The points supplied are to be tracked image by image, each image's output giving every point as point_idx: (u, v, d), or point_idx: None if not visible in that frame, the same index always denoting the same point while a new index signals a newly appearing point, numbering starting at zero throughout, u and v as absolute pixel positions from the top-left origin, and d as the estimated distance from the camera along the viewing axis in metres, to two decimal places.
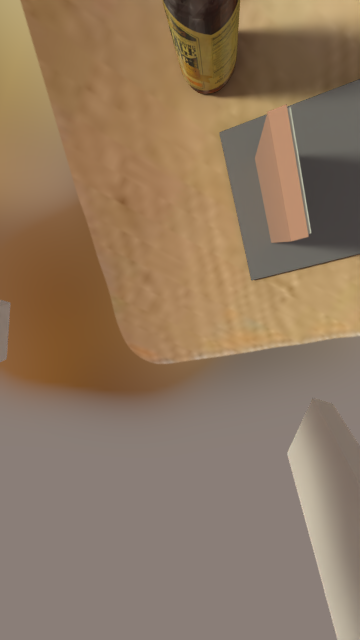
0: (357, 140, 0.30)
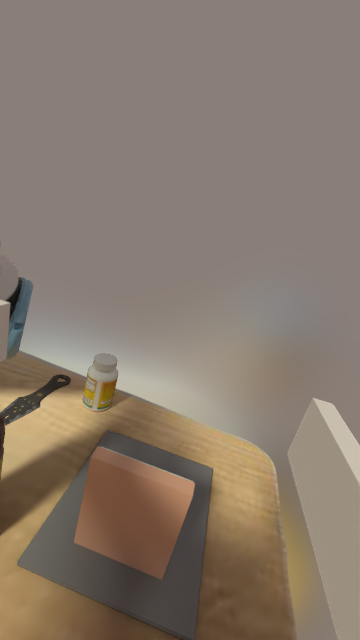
0: None
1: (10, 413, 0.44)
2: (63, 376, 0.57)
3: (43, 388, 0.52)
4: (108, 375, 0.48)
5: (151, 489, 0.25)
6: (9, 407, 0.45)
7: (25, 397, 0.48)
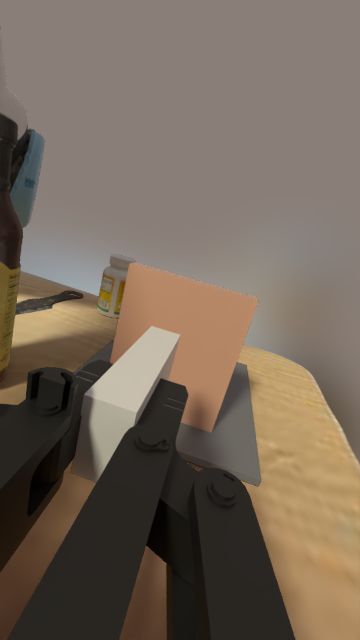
0: None
1: (20, 307, 0.39)
2: (75, 292, 0.52)
3: (54, 296, 0.47)
4: (126, 274, 0.43)
5: (205, 300, 0.21)
6: (18, 303, 0.40)
7: (36, 299, 0.43)
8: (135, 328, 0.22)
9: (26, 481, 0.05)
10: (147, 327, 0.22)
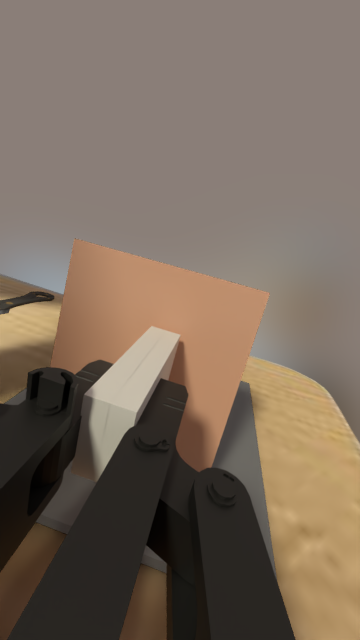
0: None
1: None
2: (44, 293, 0.43)
3: (15, 299, 0.38)
4: None
5: (188, 293, 0.13)
6: None
7: None
8: (83, 338, 0.15)
9: (26, 481, 0.05)
10: (101, 336, 0.15)
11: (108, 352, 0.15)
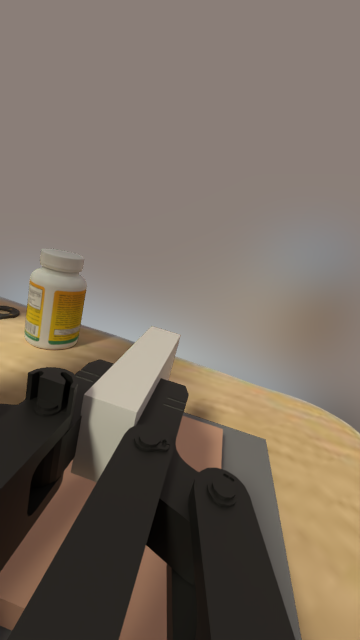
0: None
1: None
2: (8, 308, 0.35)
3: None
4: (66, 280, 0.27)
5: None
6: None
7: None
8: None
9: (26, 481, 0.05)
10: None
11: None
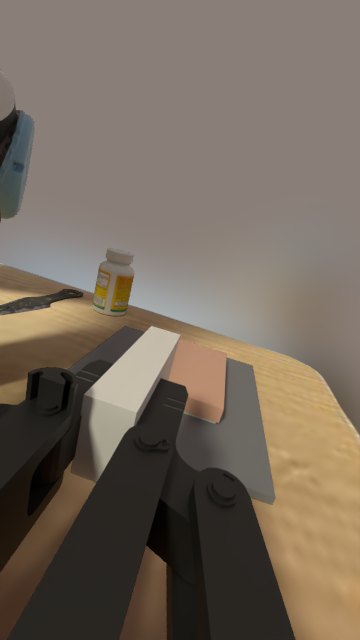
0: None
1: (15, 305, 0.36)
2: (74, 291, 0.49)
3: (52, 295, 0.44)
4: (124, 268, 0.41)
5: (196, 347, 0.33)
6: (13, 302, 0.37)
7: (32, 298, 0.40)
8: None
9: (26, 481, 0.05)
10: None
11: None
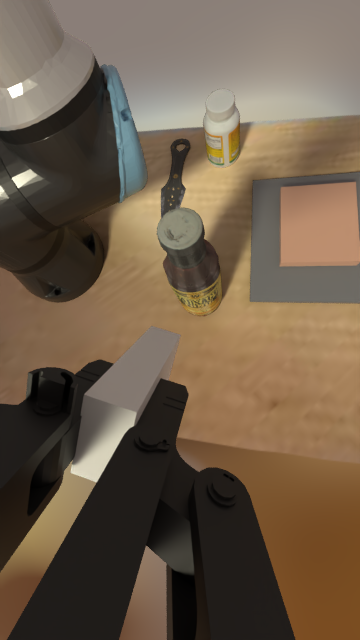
0: None
1: (169, 208, 0.47)
2: (179, 141, 0.49)
3: (173, 167, 0.48)
4: (231, 122, 0.39)
5: (327, 190, 0.39)
6: (163, 202, 0.47)
7: (167, 185, 0.48)
8: (292, 216, 0.40)
9: (26, 481, 0.05)
10: (299, 213, 0.40)
11: (303, 217, 0.39)
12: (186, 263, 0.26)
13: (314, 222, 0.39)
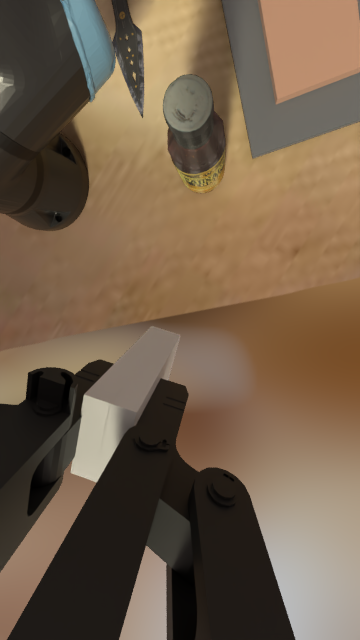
0: None
1: (132, 68, 0.39)
2: None
3: (114, 1, 0.37)
4: None
5: None
6: (122, 63, 0.39)
7: (117, 35, 0.38)
8: (279, 28, 0.33)
9: (26, 481, 0.05)
10: (286, 21, 0.33)
11: (292, 26, 0.33)
12: (199, 142, 0.25)
13: (306, 28, 0.33)
